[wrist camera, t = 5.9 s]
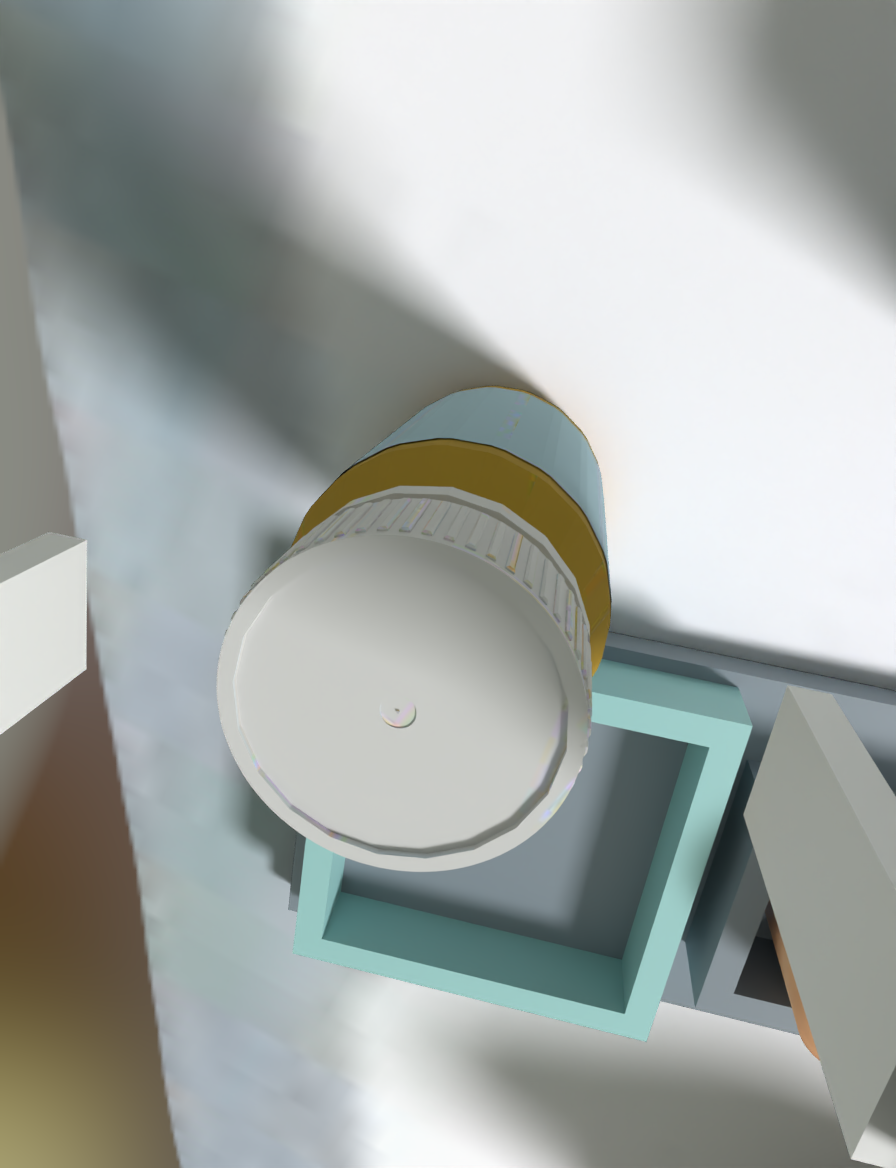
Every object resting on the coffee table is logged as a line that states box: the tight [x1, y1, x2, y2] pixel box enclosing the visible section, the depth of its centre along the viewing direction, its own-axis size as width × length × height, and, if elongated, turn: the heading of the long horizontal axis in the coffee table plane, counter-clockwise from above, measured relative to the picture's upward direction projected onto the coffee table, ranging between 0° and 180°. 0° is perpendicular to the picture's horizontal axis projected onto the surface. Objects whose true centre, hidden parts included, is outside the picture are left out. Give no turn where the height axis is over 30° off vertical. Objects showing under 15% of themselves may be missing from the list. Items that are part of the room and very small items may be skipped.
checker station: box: [288, 632, 896, 1042], centre depth 29 cm, size 14×24×4 cm, turn 81°
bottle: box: [217, 386, 611, 872], centre depth 20 cm, size 7×7×15 cm
